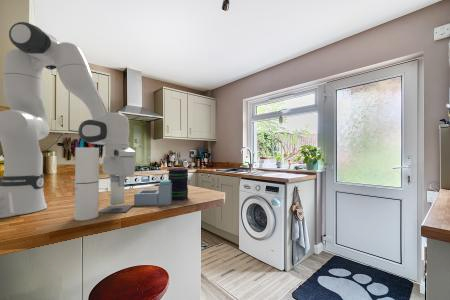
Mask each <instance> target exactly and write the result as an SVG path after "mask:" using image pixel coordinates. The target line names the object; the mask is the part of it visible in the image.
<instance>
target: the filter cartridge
mask: <svg viewBox="0 0 450 300" xmlns="http://www.w3.org/2000/svg"><path fill="white" fill-rule="evenodd" d="M109 180H110V191H109V193H110V206H117V205H124V203H125V185H124V186H123V187H119V186H118V182H119V180H120V178H119V175H116V176H111V177H110V178H109Z"/></svg>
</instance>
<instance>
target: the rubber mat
mask: <svg viewBox="0 0 450 300" xmlns="http://www.w3.org/2000/svg"><path fill="white" fill-rule="evenodd" d="M133 207H134V204H127V205H125V204H118V205H107V206H106V207H104V208H103V209H101V210H100V211H99V210H98V215H100V214H103V215H104V214H126V213H128V211H130V210H131V209H132V208H133Z"/></svg>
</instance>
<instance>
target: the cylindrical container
mask: <svg viewBox="0 0 450 300" xmlns="http://www.w3.org/2000/svg"><path fill="white" fill-rule="evenodd" d="M74 155H75V157H74V158H75V159H74V163H75V164H74V218H73V219H74V221H89V220H93V219H96V218H97V217H99V214H98V212H99V195H100V192H99V189H100V188H99V186H100V181H99V180H100V147H85V146H82V147H75V154H74Z"/></svg>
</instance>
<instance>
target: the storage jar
mask: <svg viewBox="0 0 450 300" xmlns="http://www.w3.org/2000/svg"><path fill="white" fill-rule="evenodd" d="M168 180H171V183H172V201H173V202H175V201H176V202H178V201H186V200H188V198H189V197H188V195H189V187H188V180H189V169H188V168H169V169H168Z"/></svg>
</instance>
